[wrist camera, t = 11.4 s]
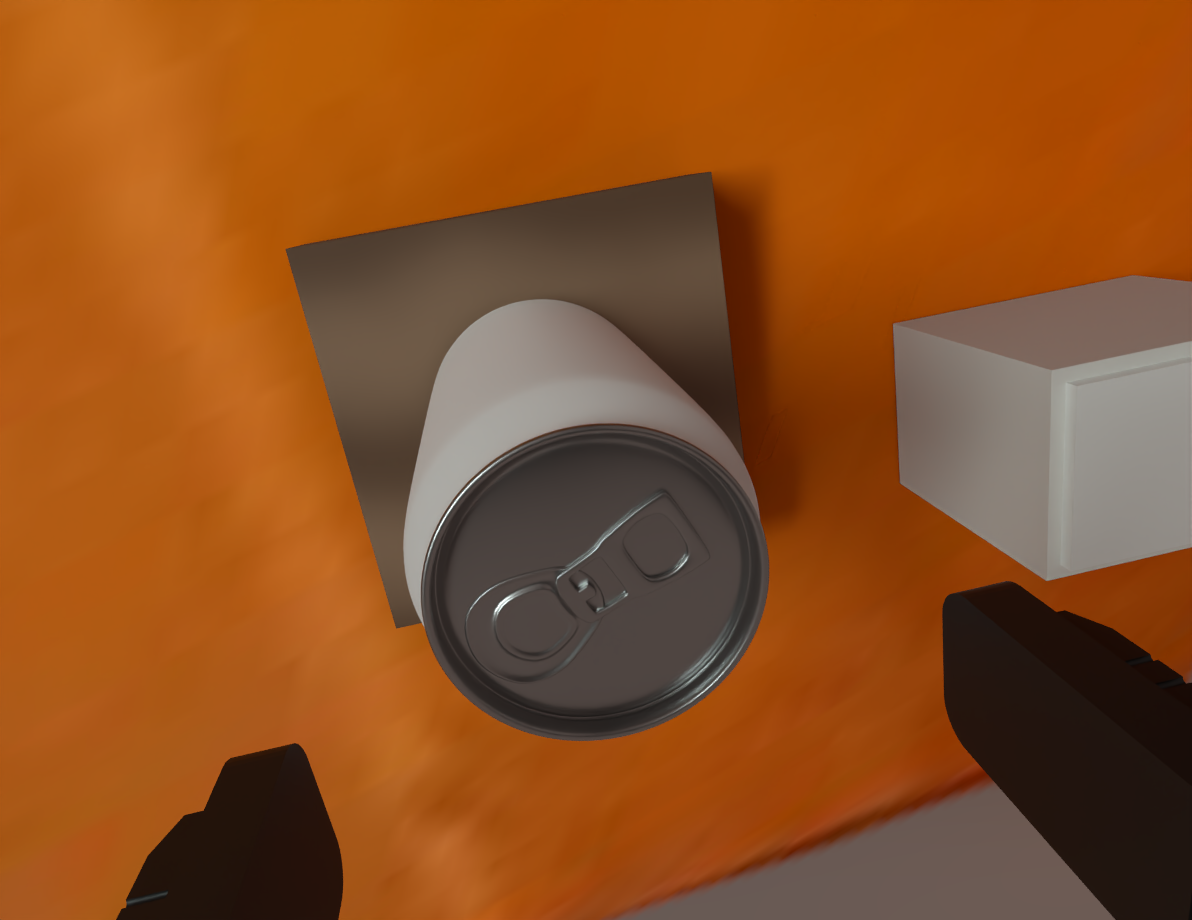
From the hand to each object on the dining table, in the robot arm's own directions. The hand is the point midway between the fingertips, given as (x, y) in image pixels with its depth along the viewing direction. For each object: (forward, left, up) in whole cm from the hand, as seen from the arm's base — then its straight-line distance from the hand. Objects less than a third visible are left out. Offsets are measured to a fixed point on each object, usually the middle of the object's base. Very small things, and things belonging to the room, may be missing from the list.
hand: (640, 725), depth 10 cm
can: (0, 0, -15) cm, 15 cm away
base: (0, 0, -18) cm, 18 cm away
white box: (+3, +17, -18) cm, 25 cm away
